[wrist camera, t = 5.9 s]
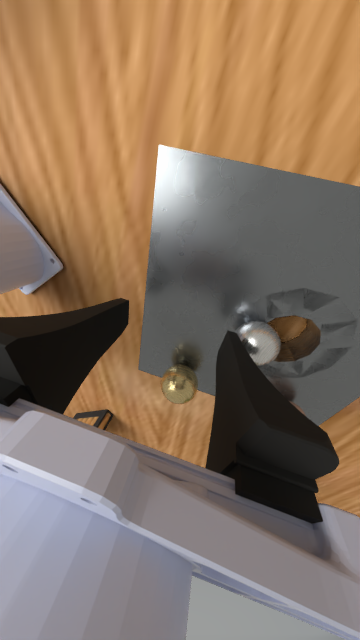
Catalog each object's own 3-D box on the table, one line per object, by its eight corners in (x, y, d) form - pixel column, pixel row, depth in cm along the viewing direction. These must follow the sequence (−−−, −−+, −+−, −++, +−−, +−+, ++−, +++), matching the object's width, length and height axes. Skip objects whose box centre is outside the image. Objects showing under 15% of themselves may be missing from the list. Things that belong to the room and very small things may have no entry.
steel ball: (219, 334, 12) (257, 367, 10) (252, 305, 12) (295, 331, 10) (226, 350, 14) (258, 380, 12) (253, 326, 15) (288, 351, 13)
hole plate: (146, 355, 22) (138, 369, 20) (171, 158, 11) (158, 144, 9) (303, 407, 20) (312, 429, 18) (509, 231, 9) (589, 234, 7)
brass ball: (161, 360, 18) (148, 389, 15) (191, 353, 16) (183, 383, 13) (177, 383, 19) (167, 413, 16) (205, 378, 18) (201, 411, 15)
